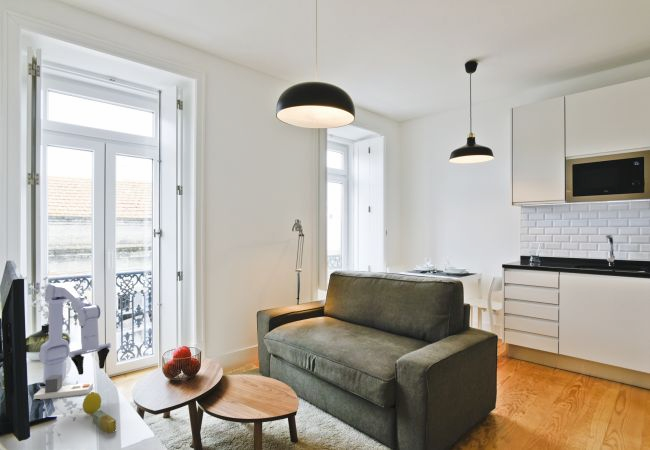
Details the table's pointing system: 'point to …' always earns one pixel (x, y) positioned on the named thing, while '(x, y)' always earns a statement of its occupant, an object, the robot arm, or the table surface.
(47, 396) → the power strip
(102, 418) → the medication box
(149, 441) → the table surface
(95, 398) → the lemon
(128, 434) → the table surface
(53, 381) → the block
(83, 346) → the robot arm
